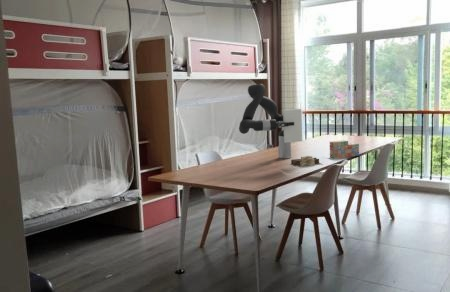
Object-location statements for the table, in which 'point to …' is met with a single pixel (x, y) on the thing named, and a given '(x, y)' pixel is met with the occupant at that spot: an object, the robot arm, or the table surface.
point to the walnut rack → (297, 161)
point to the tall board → (293, 131)
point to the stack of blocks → (343, 149)
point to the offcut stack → (307, 161)
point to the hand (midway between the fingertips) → (293, 123)
